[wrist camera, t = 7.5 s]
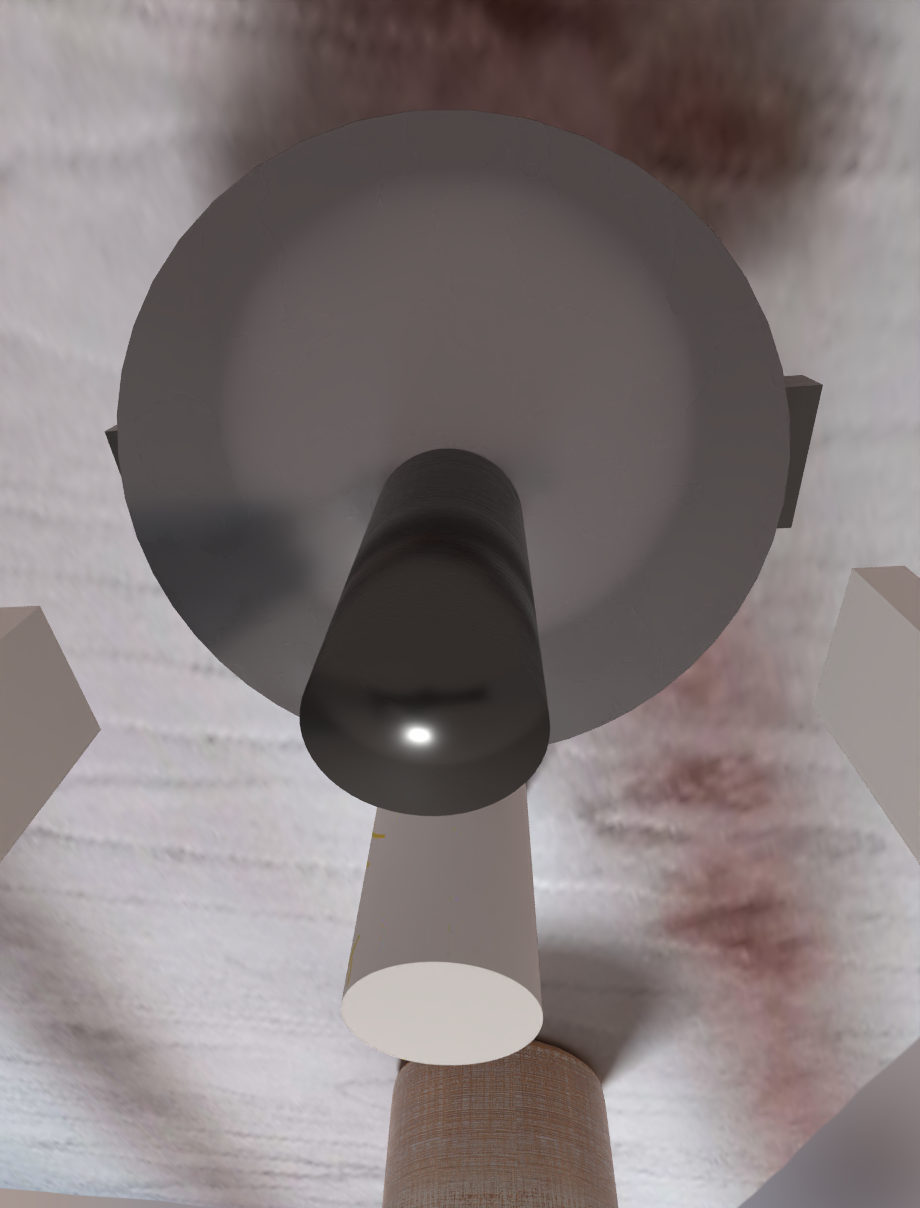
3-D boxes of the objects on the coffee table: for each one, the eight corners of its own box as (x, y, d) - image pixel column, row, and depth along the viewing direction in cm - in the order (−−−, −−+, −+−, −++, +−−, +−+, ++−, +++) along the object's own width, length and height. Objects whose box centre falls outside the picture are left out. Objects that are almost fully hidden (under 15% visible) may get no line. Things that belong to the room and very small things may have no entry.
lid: (237, 730, 21) (99, 1016, 14) (40, 159, 13) (-595, 68, 5) (716, 714, 20) (858, 1014, 13) (832, 81, 12) (1454, -171, 4)
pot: (265, 578, 29) (184, 709, 21) (169, 220, 21) (-8, 219, 14) (693, 557, 27) (775, 688, 20) (746, 170, 20) (908, 137, 12)
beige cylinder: (356, 758, 34) (302, 985, 24) (493, 716, 33) (497, 943, 22) (420, 848, 38) (396, 1077, 28) (546, 815, 36) (570, 1047, 26)
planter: (645, 1074, 53) (700, 1364, 39) (510, 1137, 60) (518, 1398, 47) (480, 1002, 48) (479, 1308, 34) (356, 1081, 55) (315, 1356, 42)
